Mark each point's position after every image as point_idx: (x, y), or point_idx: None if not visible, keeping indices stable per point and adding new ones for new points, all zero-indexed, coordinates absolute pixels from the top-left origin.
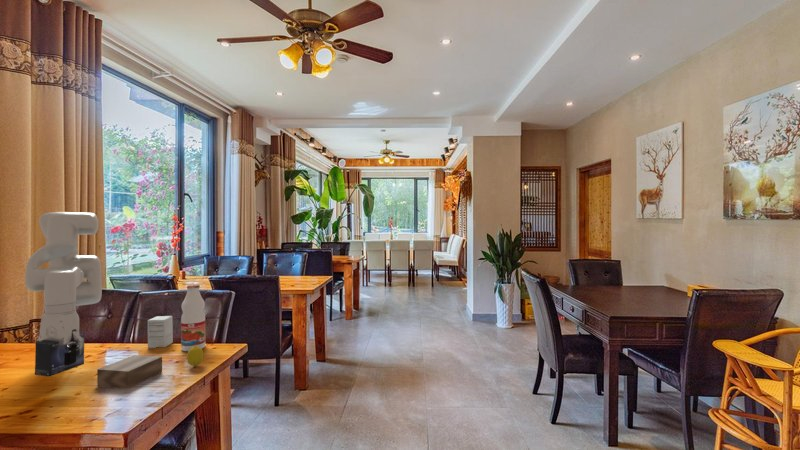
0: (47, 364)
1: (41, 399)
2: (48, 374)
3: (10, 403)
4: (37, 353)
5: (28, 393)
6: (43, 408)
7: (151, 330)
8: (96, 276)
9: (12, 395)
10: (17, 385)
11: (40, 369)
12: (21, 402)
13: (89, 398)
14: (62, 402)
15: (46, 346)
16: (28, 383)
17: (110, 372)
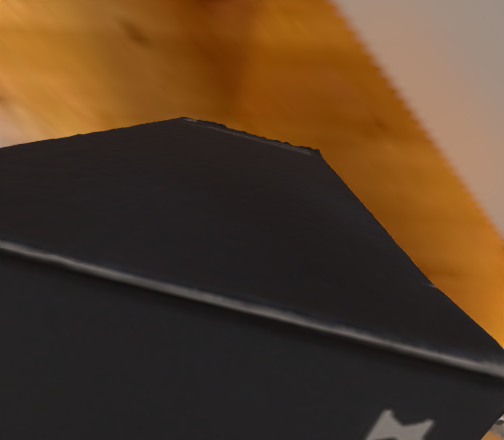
0: (169, 129)
1: (260, 123)
2: (183, 117)
3: (376, 86)
4: (325, 197)
5: (375, 192)
6: (154, 10)
7: None
8: None
9: (433, 177)
10: (483, 273)
11: (263, 143)
12: (330, 95)
13: (37, 118)
14: (124, 80)
15: (31, 191)
16: (450, 287)
17: None
